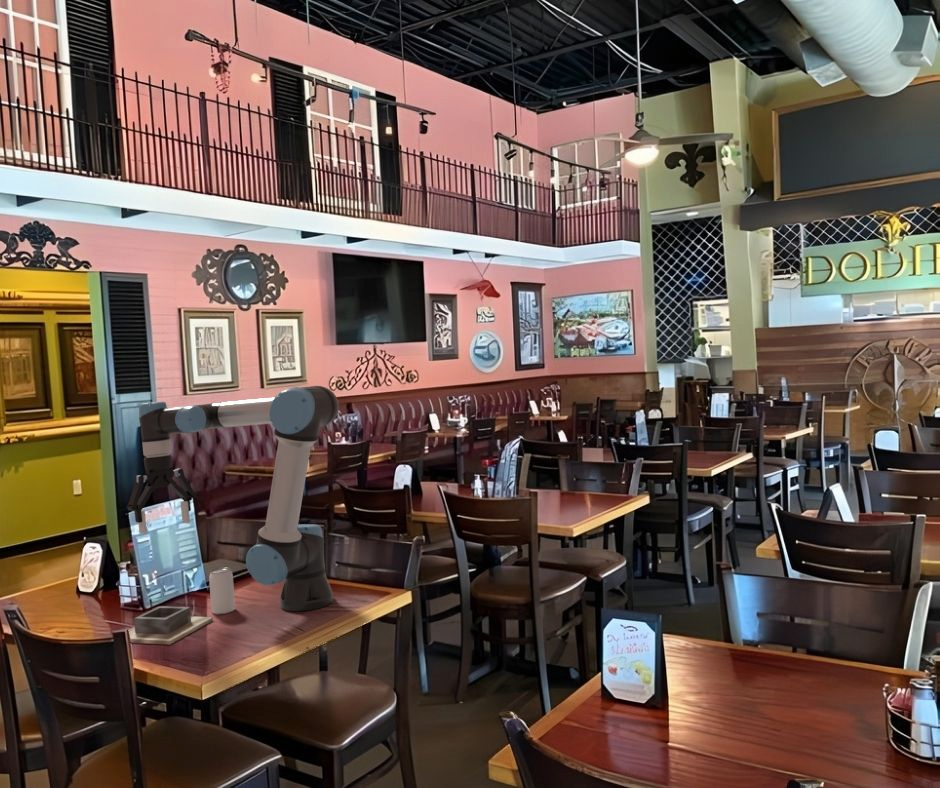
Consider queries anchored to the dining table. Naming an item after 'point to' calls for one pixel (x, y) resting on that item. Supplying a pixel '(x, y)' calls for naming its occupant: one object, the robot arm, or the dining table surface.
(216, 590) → the can
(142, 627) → the socket
